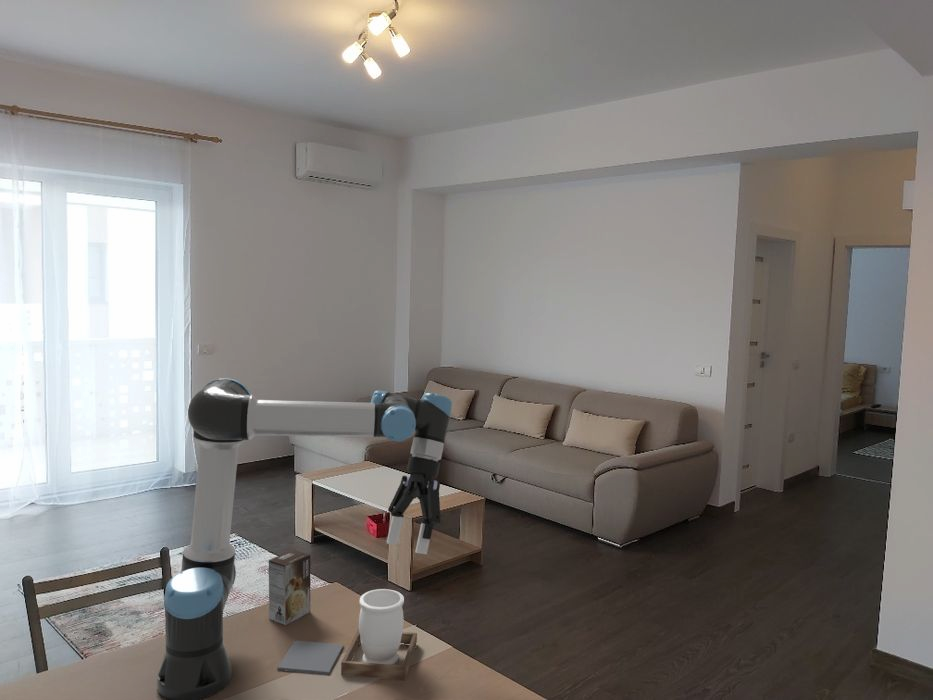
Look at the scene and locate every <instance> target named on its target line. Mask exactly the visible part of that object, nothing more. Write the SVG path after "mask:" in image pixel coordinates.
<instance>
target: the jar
mask: <svg viewBox="0 0 933 700" xmlns="http://www.w3.org/2000/svg"><path fill="white" fill-rule="evenodd" d="M404 603H405V597H404V595H403V594H402V593H400V592H399V591H397V590H394V589H387V588H377V589H372V590H368V591H366V592H365V593H363V594H362V595H360V597H359V606H360V611H359V616H358V628H359V633H360V639H361V642H360V646H361V649H362V652H363V655H362V662H366V663H377V664H389V665H396V663H397V662H398V659H399V654H398V650H399V648H400V646H401V645H400V642H401V637H402V632H404V631H403V630H404V610H403V605H404Z"/></svg>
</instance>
